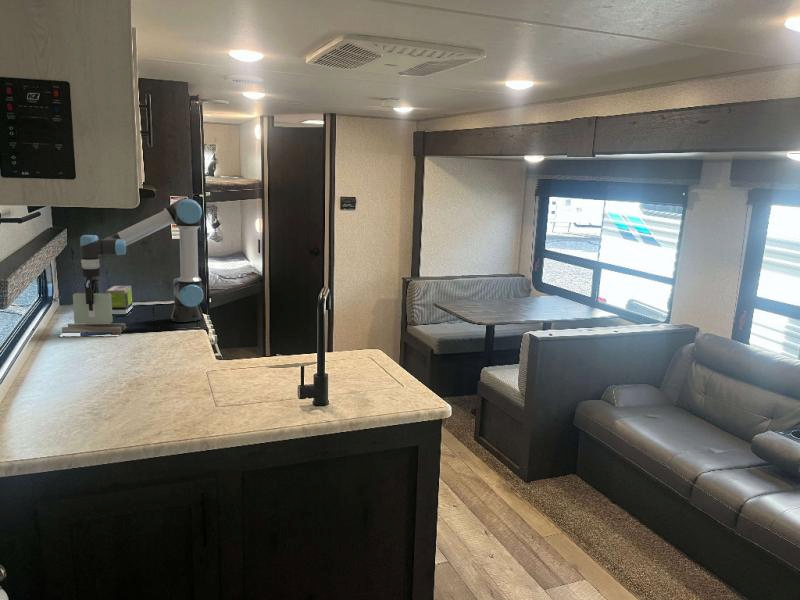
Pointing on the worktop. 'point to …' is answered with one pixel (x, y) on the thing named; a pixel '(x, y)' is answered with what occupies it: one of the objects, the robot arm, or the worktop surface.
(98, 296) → the door panel
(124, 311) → the tea box
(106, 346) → the worktop surface
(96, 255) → the robot arm
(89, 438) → the worktop surface
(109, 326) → the walnut track
